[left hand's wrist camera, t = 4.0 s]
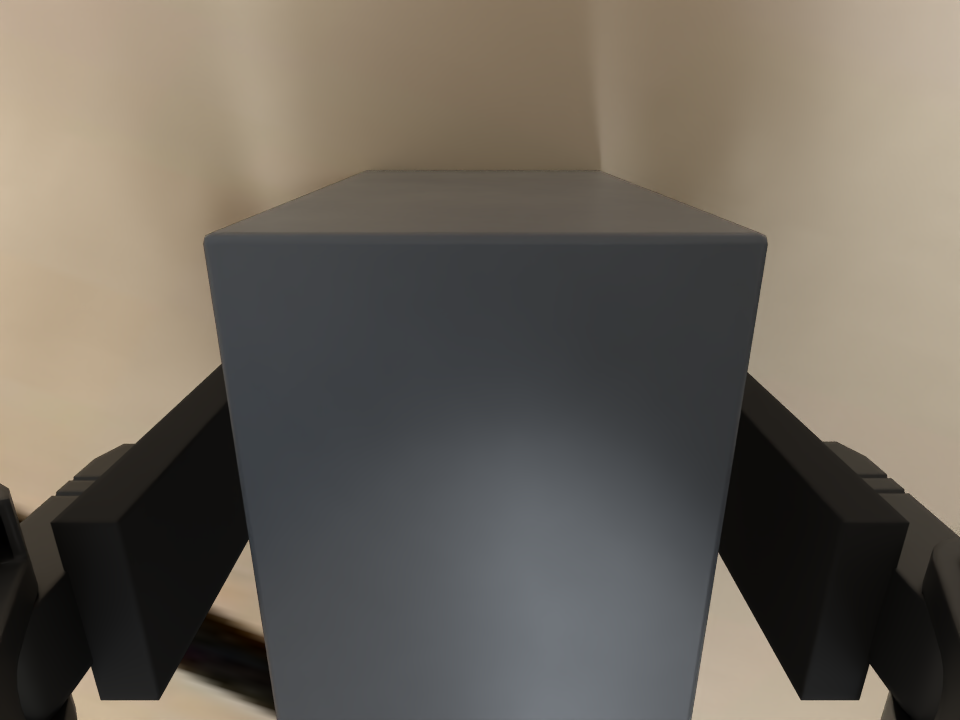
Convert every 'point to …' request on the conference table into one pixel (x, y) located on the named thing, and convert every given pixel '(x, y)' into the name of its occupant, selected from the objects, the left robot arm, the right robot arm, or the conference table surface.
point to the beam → (484, 440)
